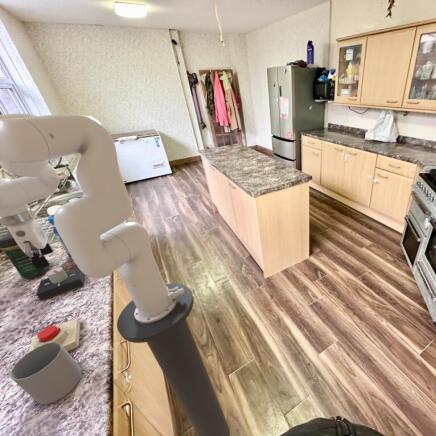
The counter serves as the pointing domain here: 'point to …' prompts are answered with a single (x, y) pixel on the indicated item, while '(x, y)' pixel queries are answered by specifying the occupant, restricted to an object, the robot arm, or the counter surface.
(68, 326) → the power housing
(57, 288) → the fryer panel
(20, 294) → the counter surface
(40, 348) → the cup
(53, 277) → the timer knob
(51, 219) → the beverage bottle
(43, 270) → the coffee jar
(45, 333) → the power button
